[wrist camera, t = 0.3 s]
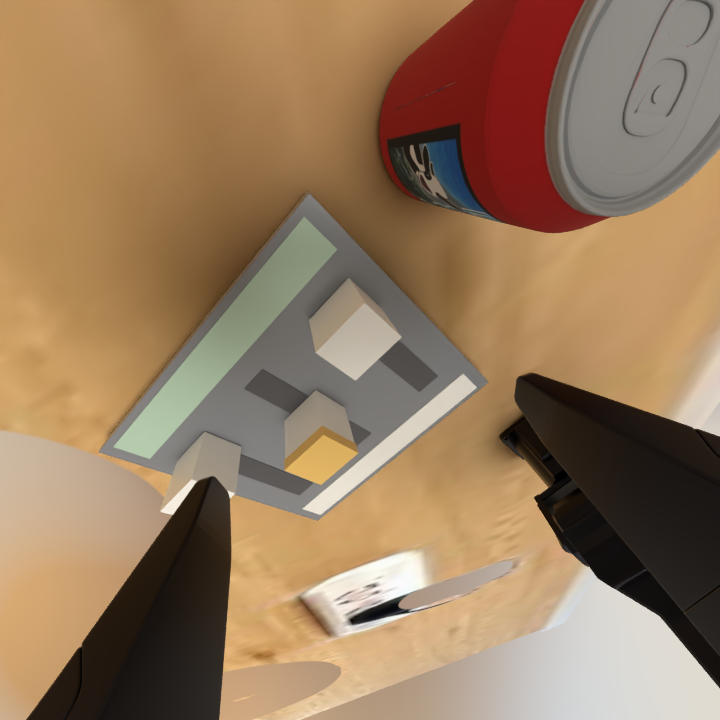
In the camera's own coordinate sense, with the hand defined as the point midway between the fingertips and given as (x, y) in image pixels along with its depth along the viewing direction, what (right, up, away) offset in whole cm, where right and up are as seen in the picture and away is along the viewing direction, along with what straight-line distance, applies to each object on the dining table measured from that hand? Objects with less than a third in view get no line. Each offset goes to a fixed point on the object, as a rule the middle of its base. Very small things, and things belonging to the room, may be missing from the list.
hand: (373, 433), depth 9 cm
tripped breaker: (-4, -2, +14) cm, 15 cm away
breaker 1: (-12, -5, +14) cm, 19 cm away
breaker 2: (-1, +5, +10) cm, 12 cm away
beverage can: (+4, +15, +8) cm, 17 cm away
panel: (-4, -1, +16) cm, 16 cm away
